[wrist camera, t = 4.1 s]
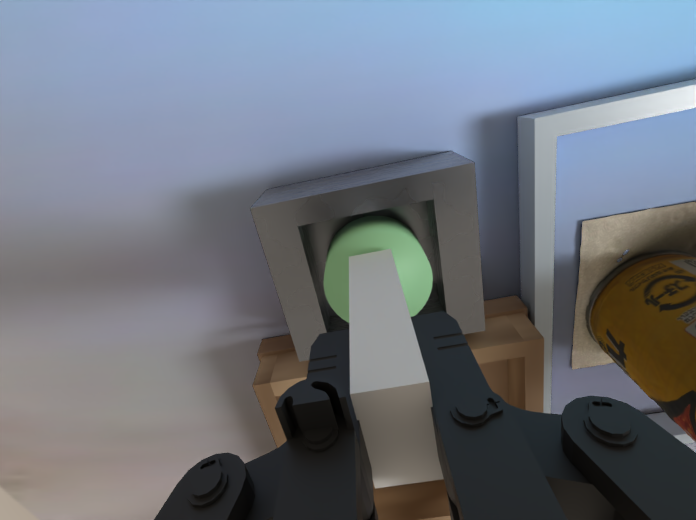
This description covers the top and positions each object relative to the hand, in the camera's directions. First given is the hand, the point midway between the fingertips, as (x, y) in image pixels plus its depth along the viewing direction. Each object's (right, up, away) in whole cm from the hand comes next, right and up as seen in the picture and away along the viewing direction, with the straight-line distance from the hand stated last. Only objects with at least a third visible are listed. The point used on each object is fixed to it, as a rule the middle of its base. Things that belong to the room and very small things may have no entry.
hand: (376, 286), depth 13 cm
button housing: (0, +2, +4) cm, 4 cm away
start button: (0, +1, +2) cm, 2 cm away
